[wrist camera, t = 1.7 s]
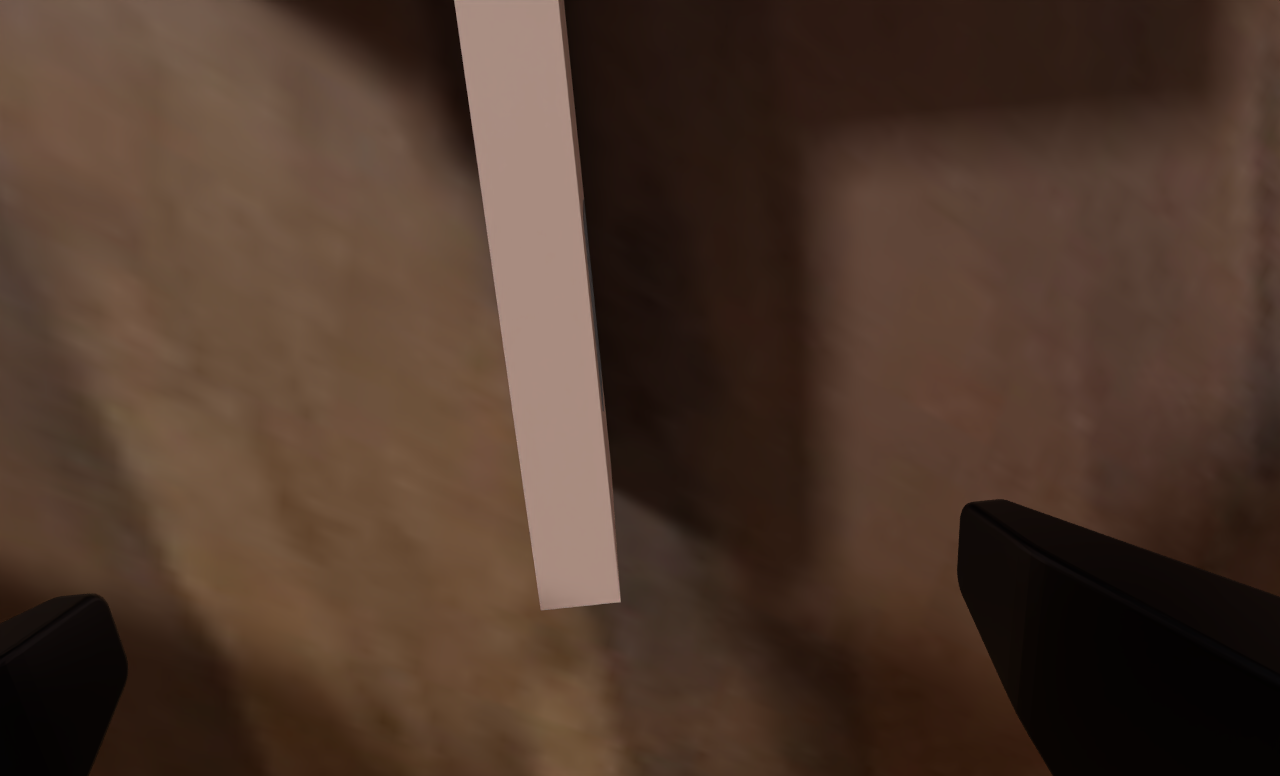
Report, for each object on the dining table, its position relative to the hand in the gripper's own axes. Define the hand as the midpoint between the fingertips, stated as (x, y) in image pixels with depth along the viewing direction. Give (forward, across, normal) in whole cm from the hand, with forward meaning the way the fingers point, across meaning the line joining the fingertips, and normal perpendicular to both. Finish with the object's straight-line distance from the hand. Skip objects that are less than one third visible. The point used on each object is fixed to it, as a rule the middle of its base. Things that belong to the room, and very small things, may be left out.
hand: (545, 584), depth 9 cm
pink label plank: (+8, 0, -9) cm, 12 cm away
